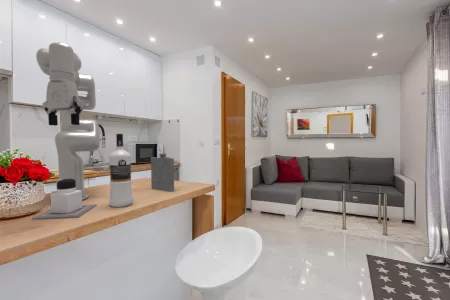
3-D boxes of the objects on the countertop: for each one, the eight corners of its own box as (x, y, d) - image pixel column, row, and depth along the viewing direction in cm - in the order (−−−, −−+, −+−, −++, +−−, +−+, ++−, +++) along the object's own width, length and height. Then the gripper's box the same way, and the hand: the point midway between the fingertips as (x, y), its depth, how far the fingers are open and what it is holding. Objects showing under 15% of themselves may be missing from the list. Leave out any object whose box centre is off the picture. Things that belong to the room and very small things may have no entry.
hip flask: (150, 188, 129) (149, 153, 128) (155, 187, 132) (155, 152, 131) (171, 191, 120) (170, 153, 119) (176, 190, 124) (175, 153, 123)
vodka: (132, 200, 103) (130, 134, 102) (134, 205, 95) (132, 133, 94) (109, 203, 99) (107, 133, 98) (109, 208, 91) (106, 133, 90)
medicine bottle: (82, 208, 91) (81, 177, 90) (68, 213, 84) (67, 181, 83) (66, 207, 92) (65, 177, 91) (50, 213, 84) (49, 180, 84)
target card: (32, 219, 79) (31, 218, 79) (57, 207, 94) (57, 205, 94) (78, 217, 81) (78, 215, 81) (96, 205, 96) (96, 204, 96)
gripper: (33, 77, 83) (35, 124, 84) (74, 74, 80) (75, 123, 81) (52, 82, 91) (53, 126, 91) (90, 80, 87) (91, 125, 88)
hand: (64, 125), depth 86 cm, fingers open, 9 cm apart
